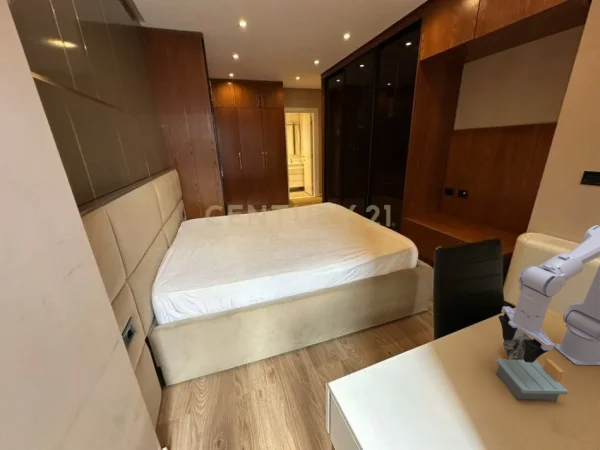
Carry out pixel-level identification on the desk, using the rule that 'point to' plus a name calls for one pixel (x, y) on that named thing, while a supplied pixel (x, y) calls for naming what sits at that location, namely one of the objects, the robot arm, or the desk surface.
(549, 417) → the desk surface
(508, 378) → the tub
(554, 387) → the lid
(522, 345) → the stone
